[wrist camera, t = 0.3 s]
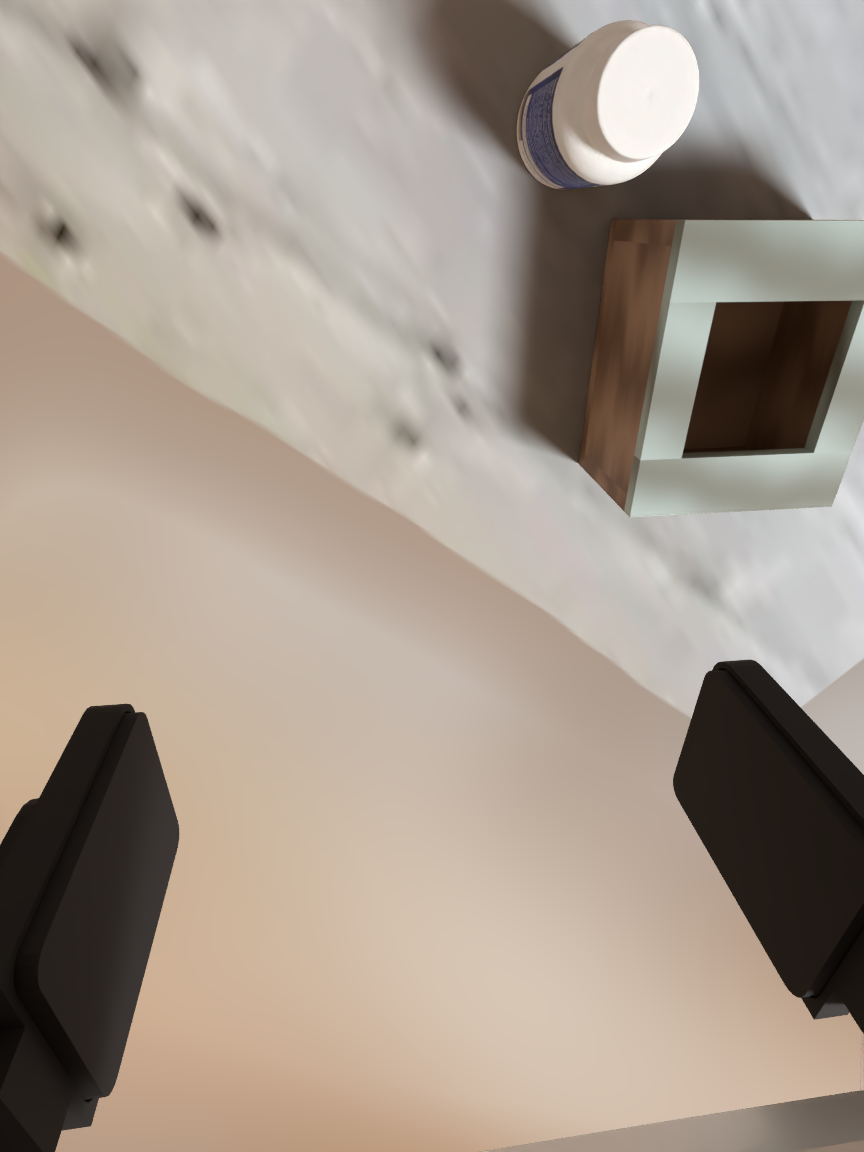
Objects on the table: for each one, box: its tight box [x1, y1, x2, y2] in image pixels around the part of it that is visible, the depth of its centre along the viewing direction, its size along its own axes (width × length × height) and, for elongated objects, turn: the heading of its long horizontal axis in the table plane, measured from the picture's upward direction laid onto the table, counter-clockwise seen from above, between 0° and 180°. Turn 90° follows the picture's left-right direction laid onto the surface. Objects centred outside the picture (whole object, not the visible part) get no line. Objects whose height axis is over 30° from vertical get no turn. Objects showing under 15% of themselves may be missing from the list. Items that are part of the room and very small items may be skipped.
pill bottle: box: [517, 20, 699, 190], centre depth 27 cm, size 5×5×10 cm
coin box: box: [579, 219, 864, 517], centre depth 34 cm, size 14×12×8 cm
